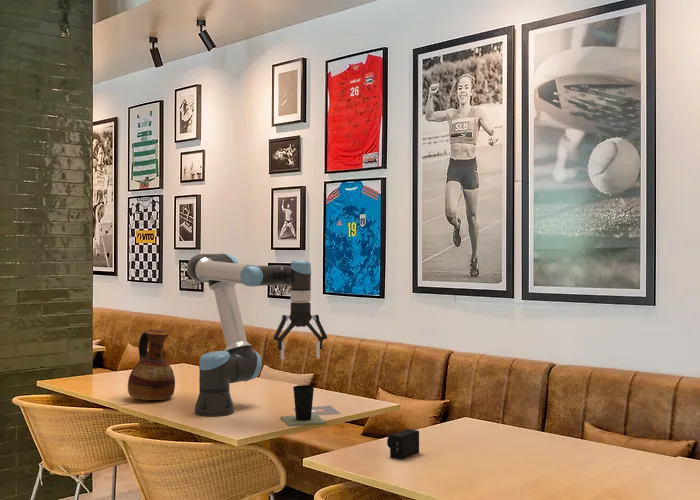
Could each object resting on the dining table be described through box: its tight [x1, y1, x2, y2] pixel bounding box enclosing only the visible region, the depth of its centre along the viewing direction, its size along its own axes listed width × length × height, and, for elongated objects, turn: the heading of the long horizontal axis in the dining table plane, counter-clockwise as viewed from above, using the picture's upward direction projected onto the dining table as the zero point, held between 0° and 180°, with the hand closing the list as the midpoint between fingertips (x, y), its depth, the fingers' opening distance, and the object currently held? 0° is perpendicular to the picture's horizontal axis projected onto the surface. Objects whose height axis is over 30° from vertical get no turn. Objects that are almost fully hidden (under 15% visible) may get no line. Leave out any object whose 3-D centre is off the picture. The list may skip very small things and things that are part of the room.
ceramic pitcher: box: [127, 328, 176, 401], centre depth 321 cm, size 20×20×30 cm
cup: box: [293, 384, 315, 421], centre depth 279 cm, size 8×8×12 cm
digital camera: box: [386, 428, 420, 461], centre depth 231 cm, size 10×5×7 cm, turn 144°
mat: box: [280, 414, 327, 427], centre depth 279 cm, size 14×14×1 cm
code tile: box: [292, 405, 342, 416], centre depth 297 cm, size 16×16×1 cm
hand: (300, 358), depth 281 cm, fingers open, 13 cm apart
